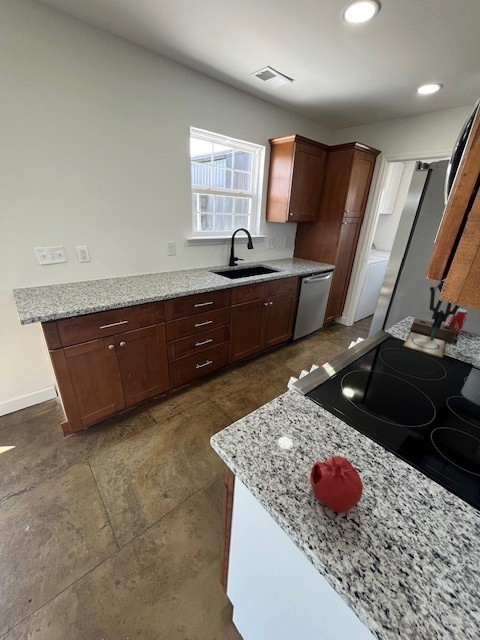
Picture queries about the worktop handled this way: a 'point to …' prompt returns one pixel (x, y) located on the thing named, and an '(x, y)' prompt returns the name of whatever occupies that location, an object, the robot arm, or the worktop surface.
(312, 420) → the worktop surface
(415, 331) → the pen holder
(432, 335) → the pen
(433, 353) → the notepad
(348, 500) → the pomegranate
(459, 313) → the soda can
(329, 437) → the worktop surface
